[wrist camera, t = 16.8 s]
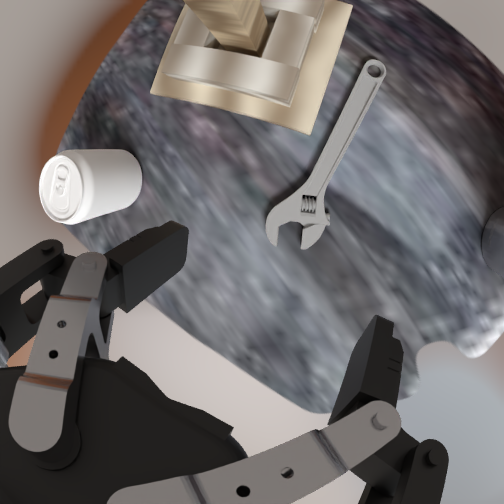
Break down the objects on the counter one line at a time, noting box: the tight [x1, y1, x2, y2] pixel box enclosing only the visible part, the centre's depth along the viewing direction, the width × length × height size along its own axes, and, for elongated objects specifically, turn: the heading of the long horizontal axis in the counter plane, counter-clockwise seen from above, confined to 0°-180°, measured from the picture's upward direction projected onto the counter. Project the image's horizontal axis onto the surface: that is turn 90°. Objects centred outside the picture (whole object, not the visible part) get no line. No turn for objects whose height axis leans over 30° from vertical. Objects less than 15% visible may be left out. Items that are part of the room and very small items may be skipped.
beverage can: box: [39, 149, 142, 224], centre depth 32 cm, size 8×8×12 cm
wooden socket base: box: [150, 0, 353, 136], centre depth 27 cm, size 20×18×6 cm
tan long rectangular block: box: [183, 0, 270, 58], centre depth 21 cm, size 4×5×14 cm
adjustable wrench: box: [266, 59, 386, 249], centre depth 31 cm, size 25×6×2 cm, turn 149°
